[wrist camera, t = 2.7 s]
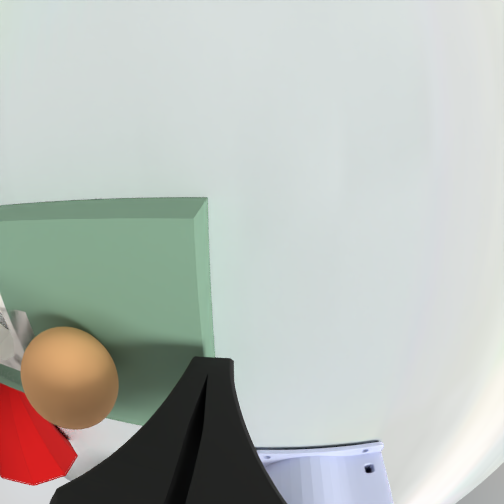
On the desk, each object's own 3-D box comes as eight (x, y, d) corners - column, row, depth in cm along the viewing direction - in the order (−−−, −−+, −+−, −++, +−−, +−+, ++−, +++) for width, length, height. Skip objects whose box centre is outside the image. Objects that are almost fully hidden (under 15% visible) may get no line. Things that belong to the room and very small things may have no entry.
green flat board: (207, 197, 11) (193, 218, 9) (218, 398, 16) (213, 434, 13) (-58, 212, 11) (-83, 226, 9) (-9, 351, 16) (-26, 370, 14)
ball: (119, 311, 10) (72, 391, 7) (140, 385, 12) (113, 459, 8) (39, 301, 10) (-15, 362, 7) (67, 370, 12) (32, 431, 8)
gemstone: (-47, 348, 15) (-17, 447, 15) (-41, 383, 10) (8, 502, 10) (35, 339, 22) (55, 430, 22) (70, 365, 18) (97, 473, 17)
